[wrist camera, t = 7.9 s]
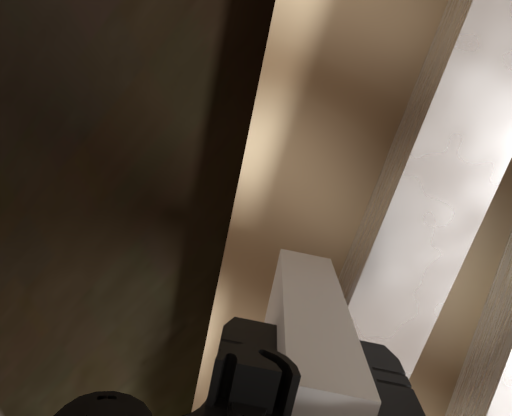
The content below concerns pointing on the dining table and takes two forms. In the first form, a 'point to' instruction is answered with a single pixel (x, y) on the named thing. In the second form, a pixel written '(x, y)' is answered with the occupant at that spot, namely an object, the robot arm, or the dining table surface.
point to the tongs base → (489, 353)
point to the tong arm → (434, 181)
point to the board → (340, 169)
